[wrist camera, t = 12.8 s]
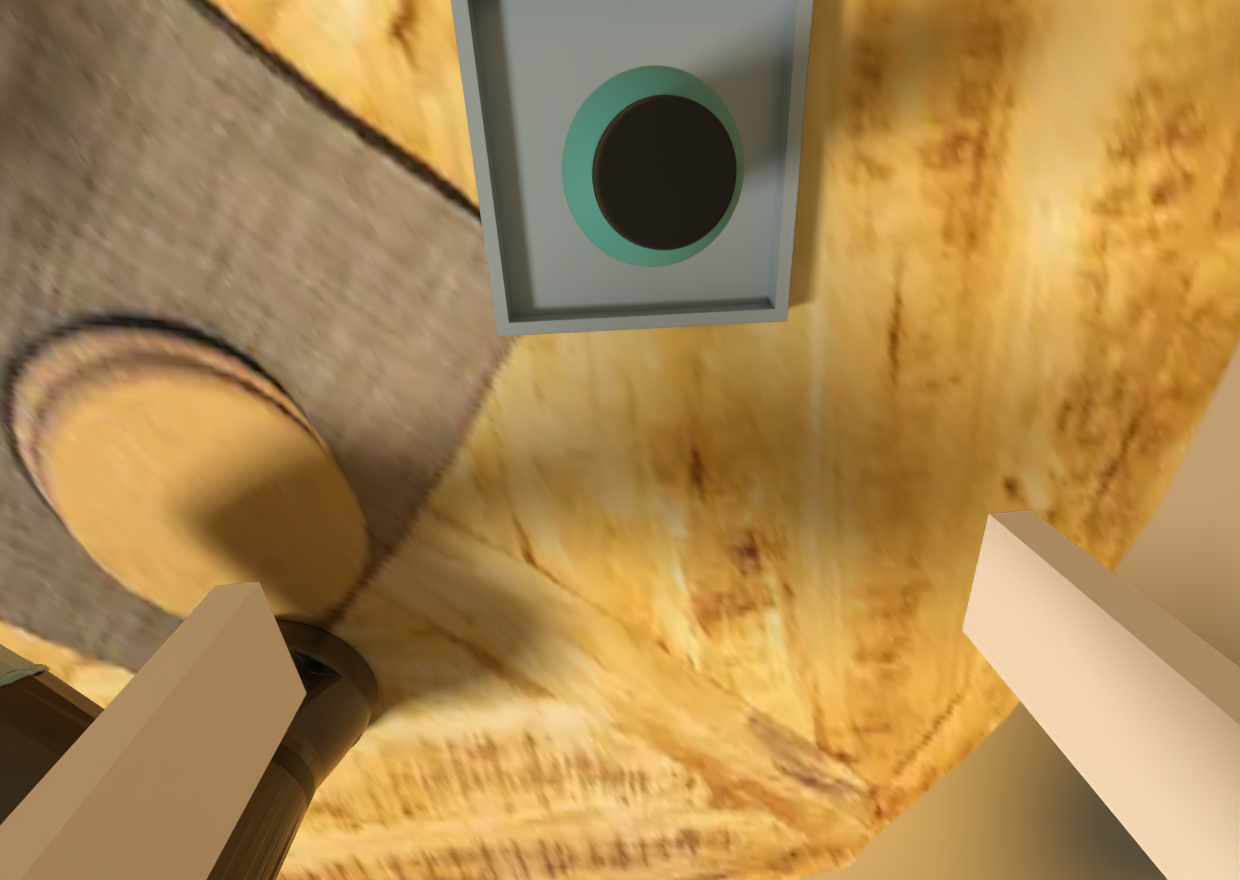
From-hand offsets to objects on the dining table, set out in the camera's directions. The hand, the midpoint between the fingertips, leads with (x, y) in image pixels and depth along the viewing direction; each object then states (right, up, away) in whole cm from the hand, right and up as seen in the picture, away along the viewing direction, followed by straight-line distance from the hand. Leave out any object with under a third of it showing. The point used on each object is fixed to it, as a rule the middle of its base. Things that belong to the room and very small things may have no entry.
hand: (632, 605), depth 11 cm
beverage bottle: (0, +19, +23) cm, 30 cm away
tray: (+1, +19, +23) cm, 30 cm away
